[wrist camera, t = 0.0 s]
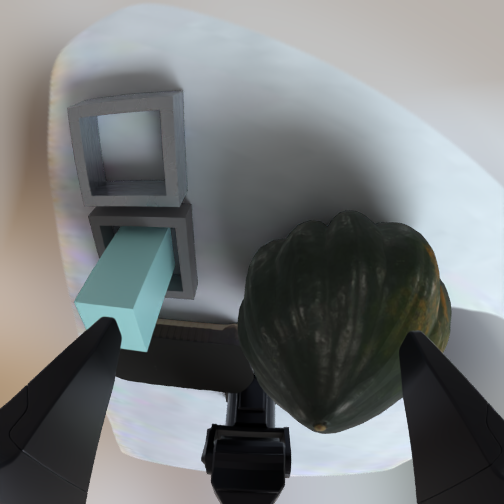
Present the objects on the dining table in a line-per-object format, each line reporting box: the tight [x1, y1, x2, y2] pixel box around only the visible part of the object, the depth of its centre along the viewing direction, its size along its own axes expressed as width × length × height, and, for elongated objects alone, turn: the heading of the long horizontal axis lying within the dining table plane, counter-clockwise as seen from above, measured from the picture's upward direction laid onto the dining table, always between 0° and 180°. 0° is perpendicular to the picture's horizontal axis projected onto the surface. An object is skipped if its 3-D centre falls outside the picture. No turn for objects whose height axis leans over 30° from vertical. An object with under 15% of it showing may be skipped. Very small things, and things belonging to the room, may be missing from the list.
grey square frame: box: [88, 204, 198, 300], centre depth 25 cm, size 8×8×2 cm
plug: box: [74, 226, 175, 352], centre depth 22 cm, size 4×4×9 cm
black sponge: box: [115, 318, 254, 394], centre depth 32 cm, size 16×8×4 cm, turn 87°
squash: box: [237, 211, 451, 434], centre depth 21 cm, size 14×15×15 cm
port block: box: [67, 91, 188, 207], centre depth 19 cm, size 7×7×2 cm
